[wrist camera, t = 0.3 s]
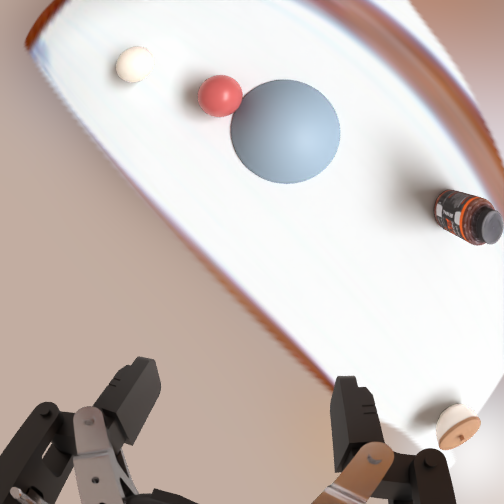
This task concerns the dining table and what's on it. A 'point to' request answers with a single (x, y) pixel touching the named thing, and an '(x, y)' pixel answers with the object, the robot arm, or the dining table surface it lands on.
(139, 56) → the cue ball
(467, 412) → the lidded jar
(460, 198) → the supplement bottle
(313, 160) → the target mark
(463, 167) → the dining table surface
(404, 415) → the dining table surface
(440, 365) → the dining table surface
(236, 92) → the red ball
